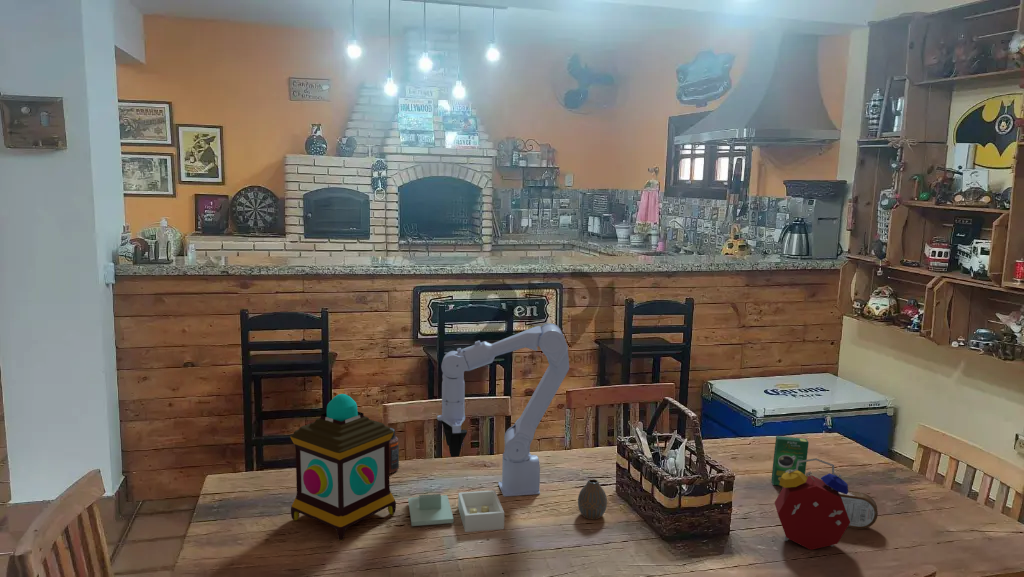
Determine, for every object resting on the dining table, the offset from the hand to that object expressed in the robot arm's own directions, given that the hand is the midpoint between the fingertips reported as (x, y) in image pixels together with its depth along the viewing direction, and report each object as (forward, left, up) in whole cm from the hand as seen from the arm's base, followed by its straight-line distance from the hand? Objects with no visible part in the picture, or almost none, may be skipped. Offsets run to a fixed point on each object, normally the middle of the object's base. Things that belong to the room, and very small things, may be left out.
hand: (453, 450), depth 184 cm
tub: (-4, +17, -10) cm, 20 cm away
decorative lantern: (+27, +11, -11) cm, 31 cm away
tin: (-88, +34, -11) cm, 95 cm away
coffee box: (-88, +12, -11) cm, 89 cm away
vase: (-31, +20, -11) cm, 38 cm away
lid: (+7, +13, -10) cm, 18 cm away
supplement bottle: (+16, -15, -11) cm, 24 cm away
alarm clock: (-74, +42, -11) cm, 86 cm away
